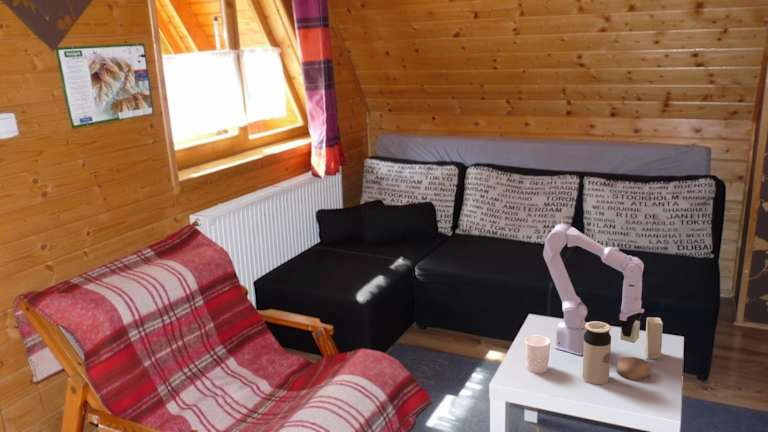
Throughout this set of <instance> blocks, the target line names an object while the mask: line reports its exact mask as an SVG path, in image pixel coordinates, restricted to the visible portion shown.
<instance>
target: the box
mask: <svg viewBox="0 0 768 432" xmlns="http://www.w3.org/2000/svg"><path fill="white" fill-rule="evenodd" d="M645 324H646V326H645V340H644V341H645V343H644V344H645V345H644V354H645V356H646V358H647V359H650V360H651V359H653V360H661V358H662V343H663V325H664V323H663V321H662V319H661V318H660V317H650V316H649V317H646V323H645Z"/></svg>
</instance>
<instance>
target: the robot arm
mask: <svg viewBox="0 0 768 432" xmlns="http://www.w3.org/2000/svg"><path fill="white" fill-rule="evenodd" d="M566 244H567V248H571V247H580V248H582V249H583V250H587V251H589V252H591V253H593V254H594V255H596V256H598V257H600V259H601V261H602V263H604V264H605V265H608V266H610V267H611V268H614V269H615V270H617V271H619V272H621V273H622V275H623V277H624V278H623V280H622V281H623V282H622V284H623V285H622V296H621V297H622V298H621V299H622V301H621V306H620V313H619V314H618V315H617V320H618V322H619V324H620V326H621V327H622V332H623V336H626V337H630V336H631V332H632V328H633V325H634V322H635V321H640V320H641V317H642V316H643V314H644V313H645V309H644V308H642V303H643V301H642V292H643V291H642V290H643V271H644V267H645V264H644V262H643V261H642V260H641V259H640V258H639V257H637V256H632V255H628V254H626V253H624V252H622V251H621V250H620V248H619V247H616V246H615V247H613V246H607V247H605V246H604V245H602V244H601V243H598V242H597V241H595V240H593V239H592V238H590V237H589V236H587V235H585V234H584V233H582V232H581V231H579V230H578V229H576V228H575V227H573V226H570V225H569V224H567V223H564V222H563V223H562V222H561V223H558V224H556V225H555V227H554V228H553V229H551V231H550V232H549V233H548V235H547V236H546V237H545V240H544V246H543V247H544V248H543V253H542V256H543V258H544V261H545V263H546V266H547V268H548V271H549V273H550V276H551V278H552V280H553V282H554V285H555V288H556V290H557V292H558V295H559V298H560V300H561V302H562V303H561V304H562V305H561V306H562V309H561V310H562V312H563V320H561V321H560V322H559V323H558V324H557V326H556V333H555V335H556V337H555V338H556V339H555V347H554V348H555V349H557V350H560V351H563V352H566V353H570V354H574V355H578V356H583V349H584V333H585V332H586V327H585V325H586V324H587V322H586V321H585V319H586V317H587V316H588V308H587V306H586V305H585V304H584V303H583V302H582V300H581V298H580V297H579V296H578V295H577V294H576V291H575V288H574V287H573V284H572V282H571V279H570V276H569V273H568V272H567V269H566V267H565V264H564V262H563V259H562V257H561V251H562V250H563V248H564V247H565V246H566ZM621 327H620V328H621Z"/></svg>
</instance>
